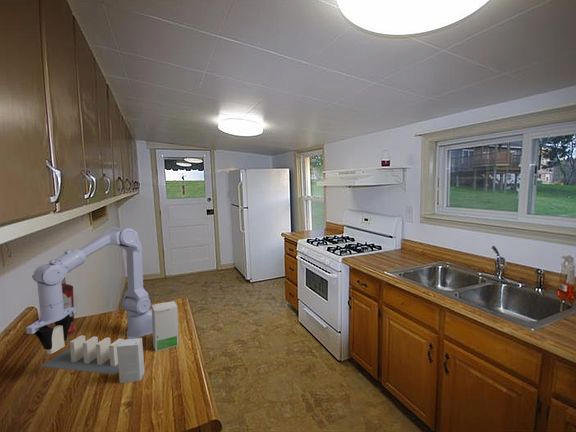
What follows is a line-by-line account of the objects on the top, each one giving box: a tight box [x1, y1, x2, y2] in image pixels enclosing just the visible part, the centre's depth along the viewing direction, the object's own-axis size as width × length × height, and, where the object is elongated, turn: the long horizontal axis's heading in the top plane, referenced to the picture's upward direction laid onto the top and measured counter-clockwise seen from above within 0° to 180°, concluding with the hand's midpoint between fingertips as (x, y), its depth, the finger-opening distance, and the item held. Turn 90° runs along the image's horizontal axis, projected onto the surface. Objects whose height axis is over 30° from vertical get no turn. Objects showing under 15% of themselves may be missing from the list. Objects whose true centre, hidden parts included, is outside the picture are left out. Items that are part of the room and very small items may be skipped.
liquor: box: [54, 276, 77, 335], centre depth 117 cm, size 7×7×28 cm
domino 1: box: [46, 325, 66, 355], centre depth 91 cm, size 2×4×7 cm, turn 171°
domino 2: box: [69, 334, 86, 362], centre depth 100 cm, size 2×4×7 cm, turn 170°
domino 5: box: [109, 338, 124, 366], centre depth 97 cm, size 2×4×7 cm, turn 170°
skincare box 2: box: [150, 301, 180, 352], centre depth 108 cm, size 8×7×16 cm
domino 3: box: [83, 336, 99, 363], centre depth 99 cm, size 2×4×7 cm, turn 170°
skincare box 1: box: [117, 337, 146, 384], centre depth 89 cm, size 6×4×12 cm
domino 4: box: [96, 337, 112, 365], centre depth 98 cm, size 2×4×7 cm, turn 170°
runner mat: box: [40, 347, 119, 375], centre depth 99 cm, size 28×12×1 cm, turn 80°
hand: (55, 344), depth 92 cm, fingers closed on domino 1, 4 cm apart
